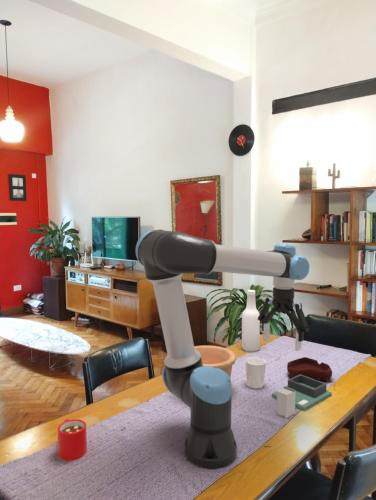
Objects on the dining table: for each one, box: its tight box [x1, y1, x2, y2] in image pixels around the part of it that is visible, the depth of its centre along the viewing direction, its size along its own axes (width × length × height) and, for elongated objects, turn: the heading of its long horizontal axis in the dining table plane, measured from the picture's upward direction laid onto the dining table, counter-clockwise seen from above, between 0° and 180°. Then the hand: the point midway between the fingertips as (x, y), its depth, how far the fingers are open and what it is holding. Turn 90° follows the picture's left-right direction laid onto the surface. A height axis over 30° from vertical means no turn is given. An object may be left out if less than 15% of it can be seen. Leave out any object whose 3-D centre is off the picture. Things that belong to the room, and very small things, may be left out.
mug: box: [57, 418, 88, 462], centre depth 115 cm, size 8×12×8 cm, turn 34°
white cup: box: [245, 356, 267, 390], centre depth 157 cm, size 8×8×10 cm
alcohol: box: [241, 289, 261, 353], centre depth 197 cm, size 9×9×30 cm
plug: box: [276, 385, 296, 419], centre depth 135 cm, size 5×4×8 cm
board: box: [271, 374, 333, 412], centre depth 148 cm, size 18×14×4 cm
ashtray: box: [286, 356, 333, 382], centre depth 168 cm, size 18×16×5 cm
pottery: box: [194, 345, 237, 379], centre depth 152 cm, size 22×22×14 cm
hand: (281, 345), depth 143 cm, fingers open, 13 cm apart
